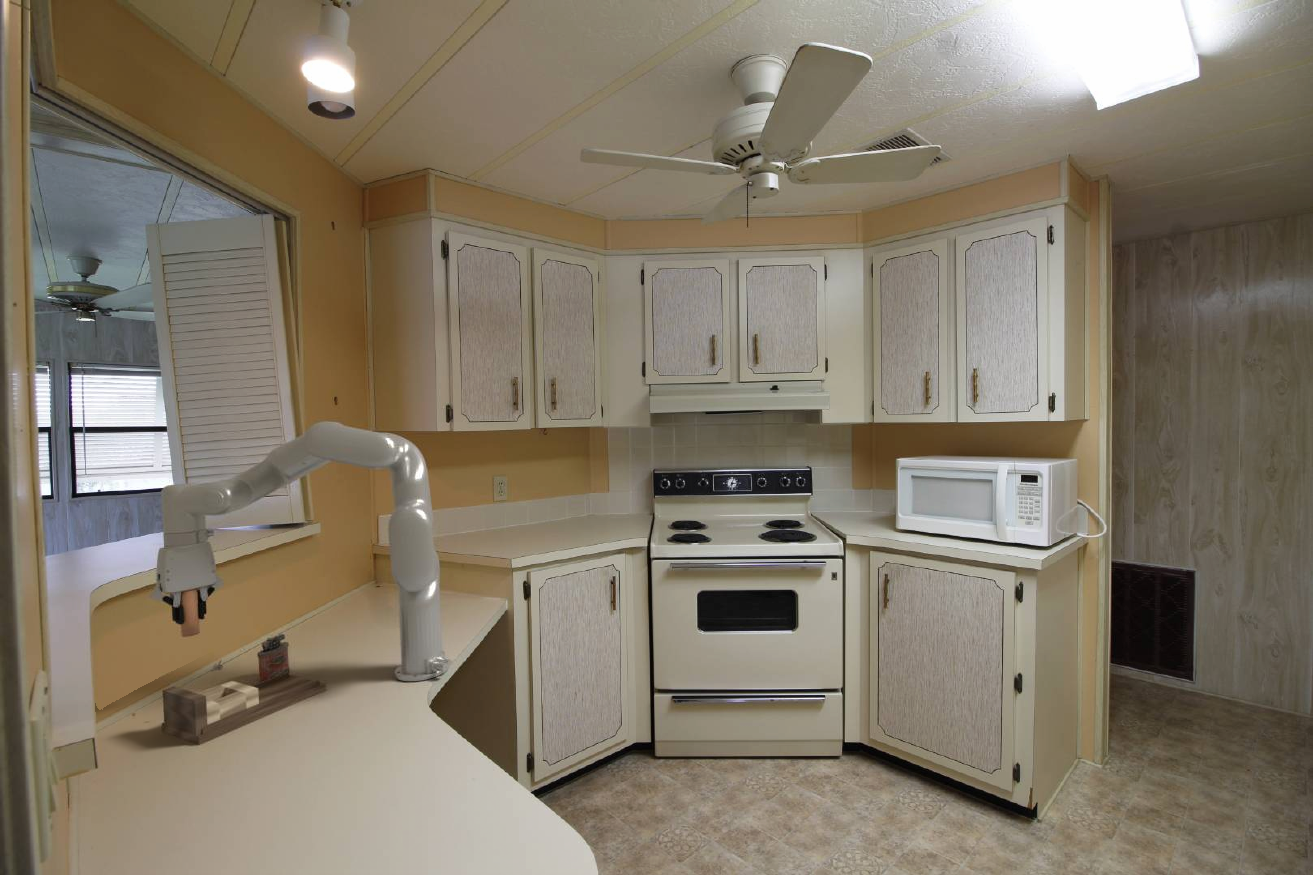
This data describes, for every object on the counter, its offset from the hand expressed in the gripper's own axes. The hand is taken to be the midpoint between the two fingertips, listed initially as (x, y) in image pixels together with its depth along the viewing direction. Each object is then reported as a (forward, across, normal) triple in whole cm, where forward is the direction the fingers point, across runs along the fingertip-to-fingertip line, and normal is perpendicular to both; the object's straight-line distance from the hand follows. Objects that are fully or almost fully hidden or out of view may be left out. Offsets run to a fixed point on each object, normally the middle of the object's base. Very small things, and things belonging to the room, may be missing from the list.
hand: (190, 620), depth 134 cm
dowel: (+3, 0, 0) cm, 3 cm away
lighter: (+19, -16, 0) cm, 25 cm away
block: (+17, 0, +15) cm, 23 cm away
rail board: (+19, -6, +14) cm, 24 cm away
